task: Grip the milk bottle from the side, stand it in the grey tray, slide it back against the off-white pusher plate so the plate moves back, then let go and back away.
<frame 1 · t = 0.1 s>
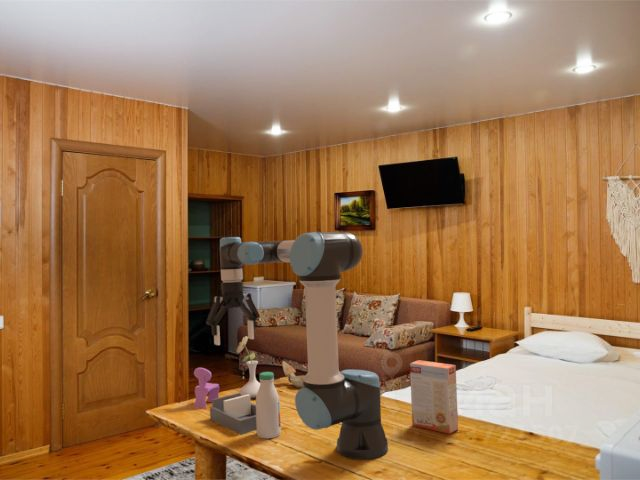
hand: (234, 341, 187), 28 cm above the table, tool pointing down, fingers open, 13 cm apart
cracker box: (435, 428, 174), on the table
grey tray: (241, 422, 186), on the table
pusher: (237, 407, 188), point 5 cm above the table, slide at 0.0 cm
toy chair: (207, 405, 207), on the table
flower in vase: (251, 397, 216), on the table
milk bottle: (268, 435, 173), on the table
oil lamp: (302, 387, 227), on the table
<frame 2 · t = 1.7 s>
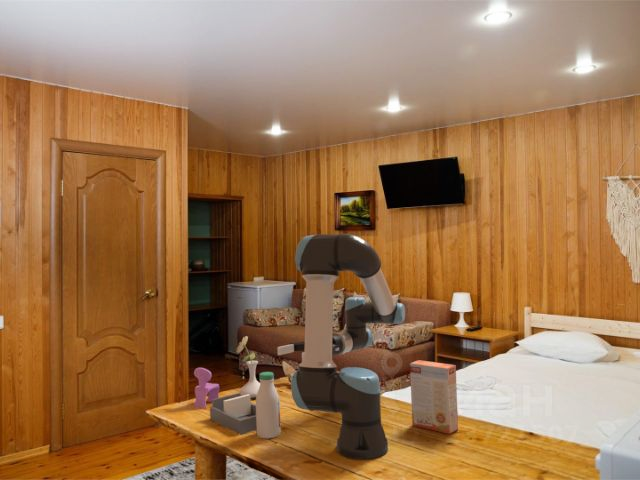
hand: (289, 354, 179), 25 cm above the table, tool horizontal, fingers open, 13 cm apart
nothing on the table moved.
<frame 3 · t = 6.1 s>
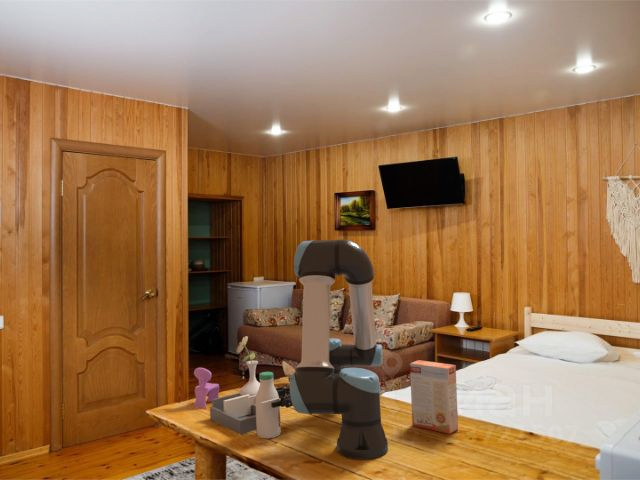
hand: (254, 404, 170), 11 cm above the table, tool horizontal, fingers closed on milk bottle, 7 cm apart
milk bottle: (268, 435, 173), on the table, touching gripper
everything else where it was.
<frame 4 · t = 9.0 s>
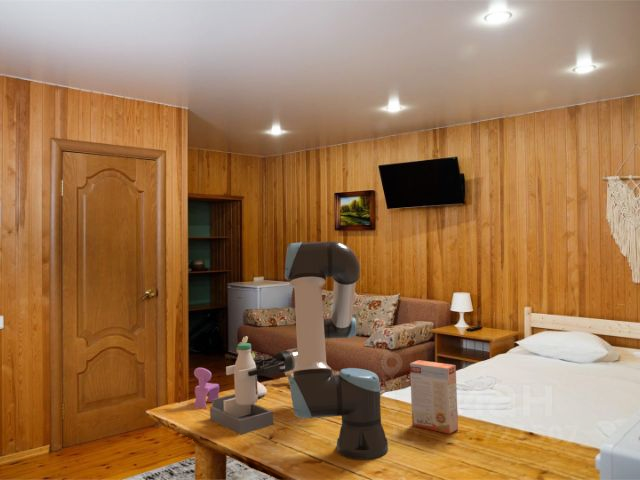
hand: (232, 373, 180), 19 cm above the table, tool horizontal, fingers closed on milk bottle, 7 cm apart
milk bottle: (246, 402, 183), point 8 cm above the table, touching gripper
everything else where it was.
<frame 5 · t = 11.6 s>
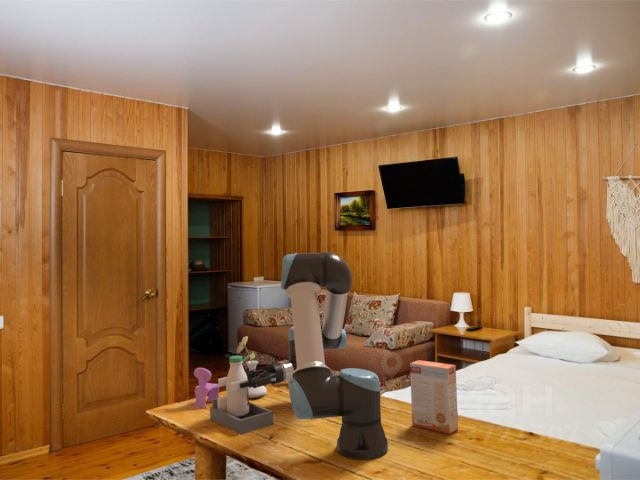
hand: (224, 385, 184), 14 cm above the table, tool horizontal, fingers closed on milk bottle, 7 cm apart
pusher: (231, 404, 191), point 5 cm above the table, slide at 4.3 cm, touching milk bottle
milk bottle: (238, 414, 188), point 2 cm above the table, touching gripper, pusher
everything else where it was.
when the fingers open (13 cm above the table, at t = 11.9 s): milk bottle drops 1 cm, resting on grey tray.
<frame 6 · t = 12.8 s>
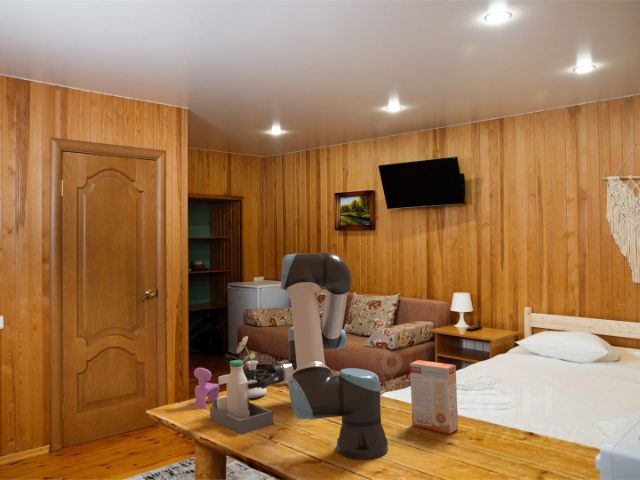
hand: (228, 384, 185), 14 cm above the table, tool horizontal, fingers open, 13 cm apart
pusher: (230, 404, 191), point 5 cm above the table, slide at 4.6 cm
milk bottle: (238, 418, 187), point 1 cm above the table, touching grey tray
everything else where it was.
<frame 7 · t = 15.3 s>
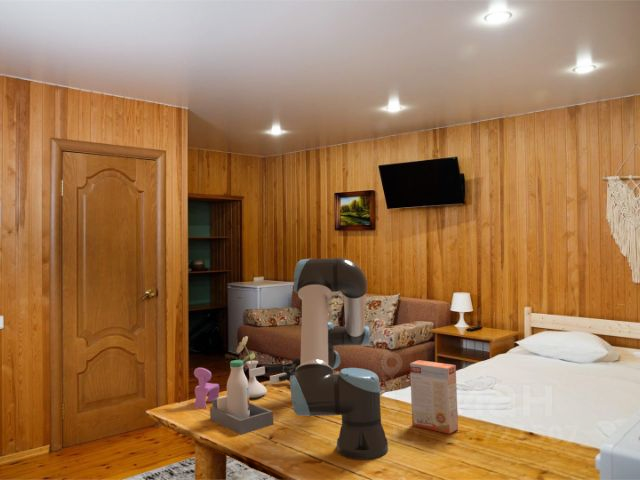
hand: (259, 376, 194), 14 cm above the table, tool horizontal, fingers open, 13 cm apart
nothing on the table moved.
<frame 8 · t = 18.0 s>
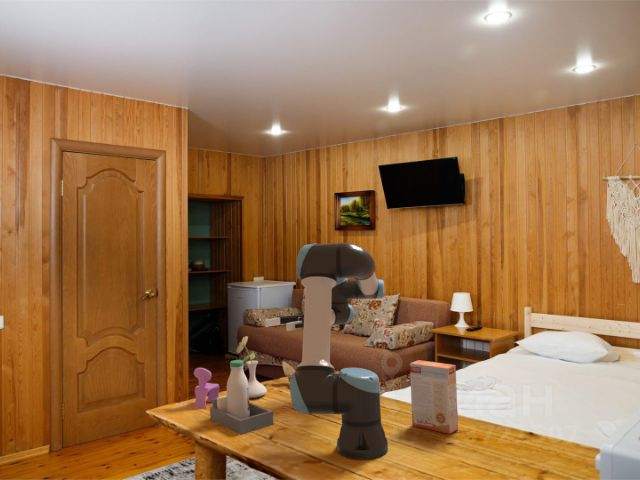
hand: (275, 325, 194), 32 cm above the table, tool horizontal, fingers open, 13 cm apart
nothing on the table moved.
at the end: milk bottle inside the target area on the grey tray (1.7 cm from its centre), point 0.8 cm above the grey tray's base; milk bottle tilted 0°; pusher slide at 4.6 cm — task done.
